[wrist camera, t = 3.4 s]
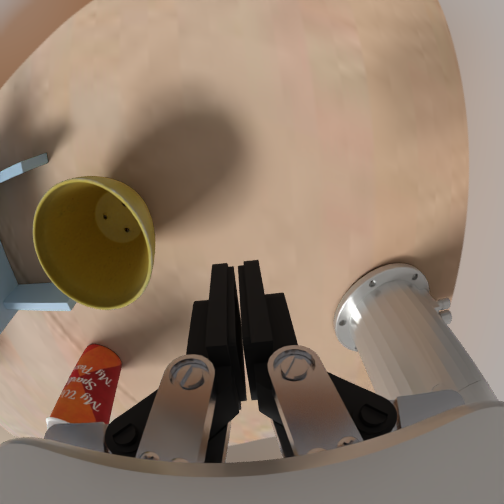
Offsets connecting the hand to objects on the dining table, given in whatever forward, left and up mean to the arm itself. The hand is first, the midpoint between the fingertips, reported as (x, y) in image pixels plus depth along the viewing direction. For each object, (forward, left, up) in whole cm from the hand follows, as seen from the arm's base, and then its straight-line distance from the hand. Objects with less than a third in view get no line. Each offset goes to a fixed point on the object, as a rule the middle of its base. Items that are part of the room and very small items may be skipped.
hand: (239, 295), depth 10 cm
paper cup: (+21, +19, -14) cm, 31 cm away
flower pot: (+11, 0, -14) cm, 17 cm away
